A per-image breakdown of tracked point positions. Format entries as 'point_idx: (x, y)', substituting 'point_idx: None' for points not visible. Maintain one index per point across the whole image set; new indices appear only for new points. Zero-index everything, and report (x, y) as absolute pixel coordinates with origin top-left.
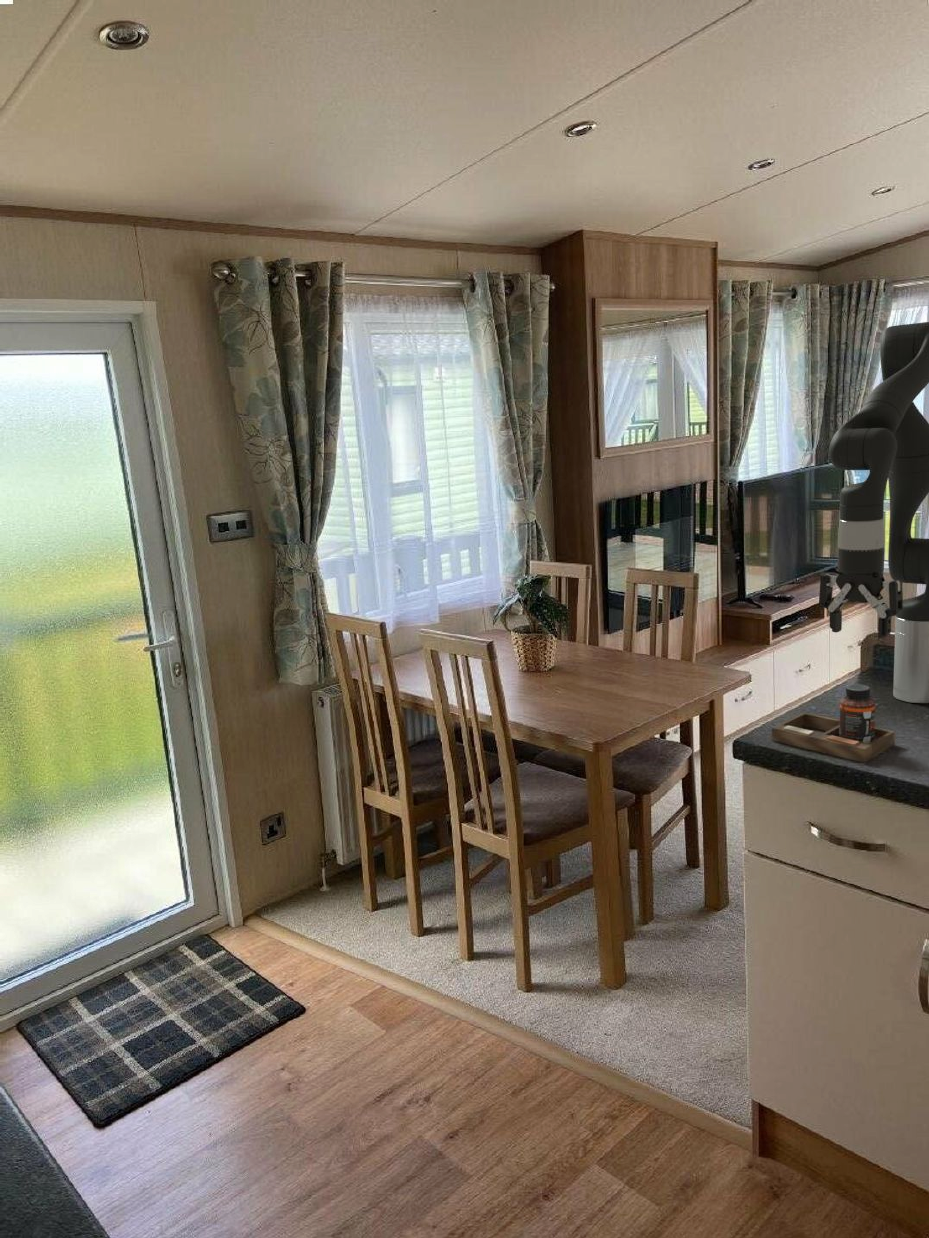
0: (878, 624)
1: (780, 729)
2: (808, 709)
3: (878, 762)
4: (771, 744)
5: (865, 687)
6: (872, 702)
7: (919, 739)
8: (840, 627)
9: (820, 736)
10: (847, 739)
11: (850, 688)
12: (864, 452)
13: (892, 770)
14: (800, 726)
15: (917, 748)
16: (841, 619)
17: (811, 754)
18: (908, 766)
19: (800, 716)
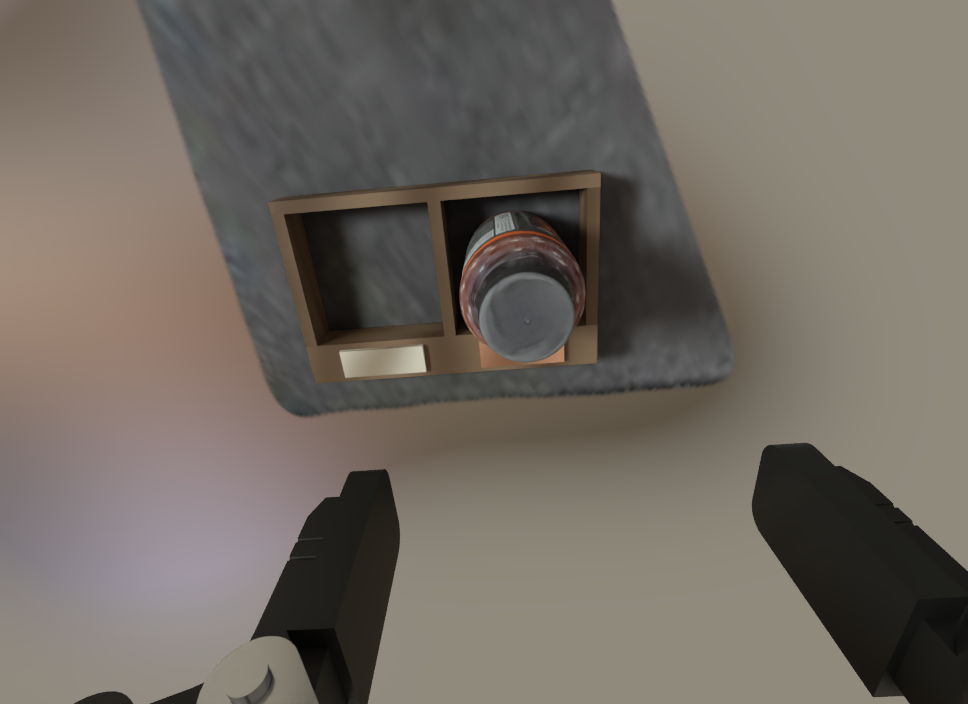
0: (824, 625)
1: (341, 379)
2: (170, 29)
3: (615, 322)
4: (348, 387)
5: (554, 304)
6: (583, 295)
7: (633, 62)
8: (382, 496)
9: (454, 356)
10: None
11: (514, 354)
12: None
13: (664, 345)
14: (303, 234)
15: (659, 152)
16: (362, 540)
17: (461, 380)
18: (687, 298)
19: (291, 242)
